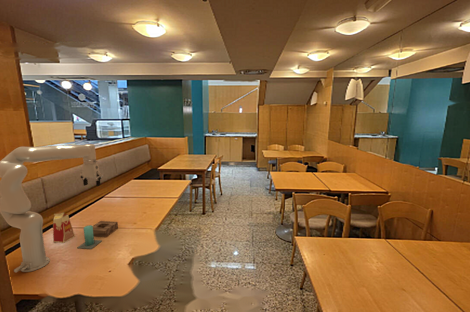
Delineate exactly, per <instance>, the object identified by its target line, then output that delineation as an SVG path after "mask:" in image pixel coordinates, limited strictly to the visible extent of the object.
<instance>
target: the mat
mask: <svg viewBox="0 0 470 312" xmlns="http://www.w3.org/2000/svg"><path fill="white" fill-rule="evenodd" d="M100 243H103V240H102V239H94V244H93V245H90V246H86V245H85V241H84V242H83V243H81V244H80V245H79V246H77V247H76V248H77V249H80V250H81V249H82V250H93V249H94V248H95V247H96V246H98V245H99V244H100Z"/></svg>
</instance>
